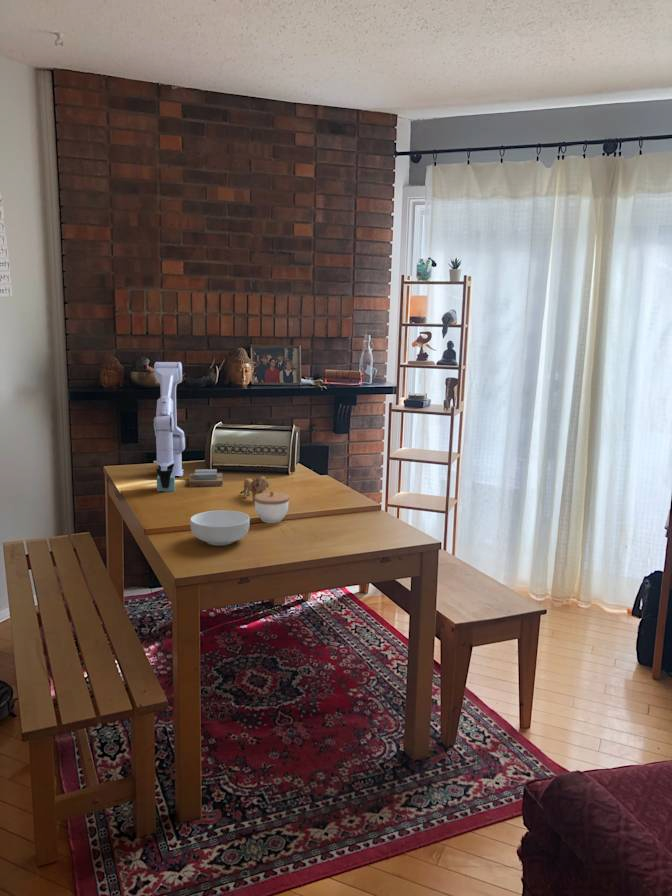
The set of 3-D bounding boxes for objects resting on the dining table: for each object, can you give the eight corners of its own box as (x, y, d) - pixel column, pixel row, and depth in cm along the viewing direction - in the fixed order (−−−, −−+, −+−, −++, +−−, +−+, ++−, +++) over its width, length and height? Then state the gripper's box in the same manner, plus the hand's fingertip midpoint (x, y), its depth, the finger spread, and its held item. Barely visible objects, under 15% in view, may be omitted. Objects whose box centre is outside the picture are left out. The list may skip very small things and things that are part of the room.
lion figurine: (272, 502, 252) (272, 476, 250) (259, 505, 248) (259, 479, 246) (245, 493, 262) (245, 468, 260) (233, 496, 258) (233, 471, 256)
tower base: (190, 478, 281) (190, 468, 280) (222, 477, 283) (222, 467, 282) (189, 486, 269) (188, 476, 268) (222, 486, 271) (222, 475, 270)
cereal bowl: (262, 541, 212) (261, 517, 211) (216, 555, 200) (216, 530, 199) (224, 528, 224) (223, 505, 222) (178, 541, 211) (178, 517, 210)
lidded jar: (288, 525, 227) (288, 496, 225) (253, 525, 226) (253, 496, 224) (289, 515, 237) (289, 486, 235) (255, 515, 237) (255, 486, 235)
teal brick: (158, 488, 267) (157, 475, 266) (175, 488, 268) (174, 474, 267) (157, 491, 262) (156, 478, 261) (174, 491, 263) (173, 477, 262)
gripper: (154, 444, 268) (156, 481, 271) (151, 453, 254) (152, 491, 257) (174, 444, 269) (175, 480, 272) (172, 452, 255) (173, 490, 258)
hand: (166, 485), depth 265 cm, fingers open, 5 cm apart
